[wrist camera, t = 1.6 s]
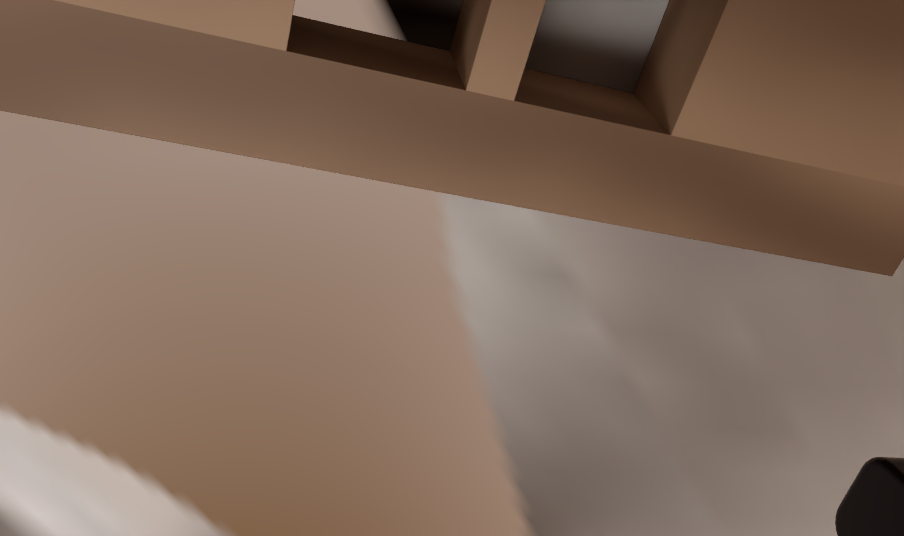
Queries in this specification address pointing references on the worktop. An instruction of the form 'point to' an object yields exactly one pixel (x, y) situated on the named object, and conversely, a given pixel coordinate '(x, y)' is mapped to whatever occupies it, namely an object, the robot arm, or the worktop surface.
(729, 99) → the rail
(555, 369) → the worktop surface
